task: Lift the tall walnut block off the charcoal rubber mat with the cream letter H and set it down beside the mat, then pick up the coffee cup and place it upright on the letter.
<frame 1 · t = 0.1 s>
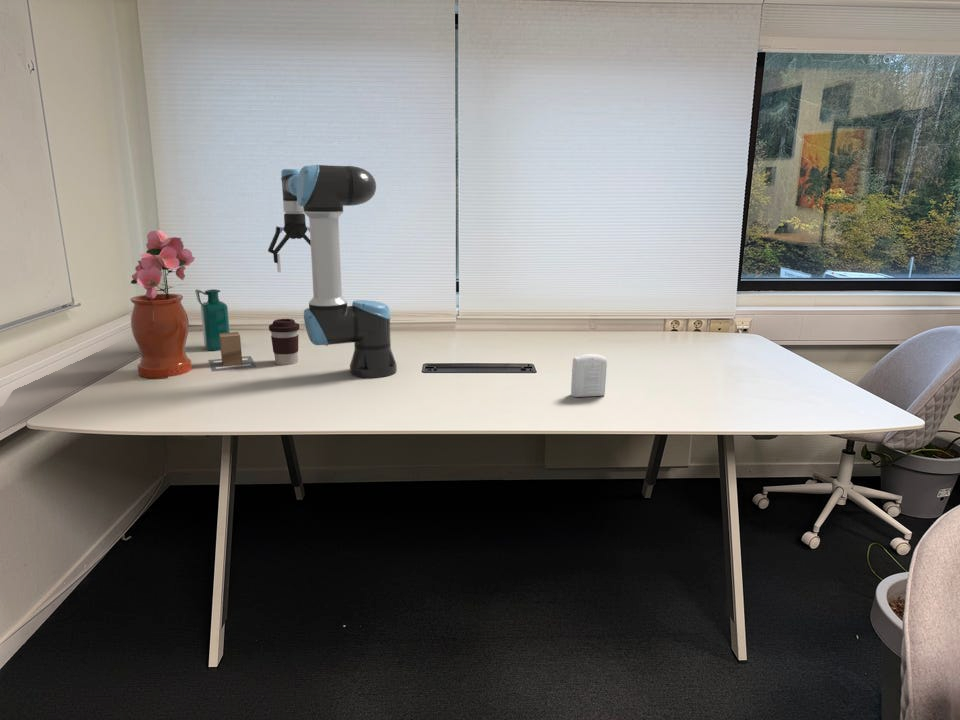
hand: (297, 271, 248), 28 cm above the table, tool pointing down, fingers open, 13 cm apart
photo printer: (587, 395, 195), on the table
walnut block: (232, 363, 225), resting on letter mat
pitcher: (216, 348, 247), on the table
letter mat: (232, 364, 225), on the table
coffee cup: (286, 364, 227), on the table
potted flower: (170, 371, 216), on the table
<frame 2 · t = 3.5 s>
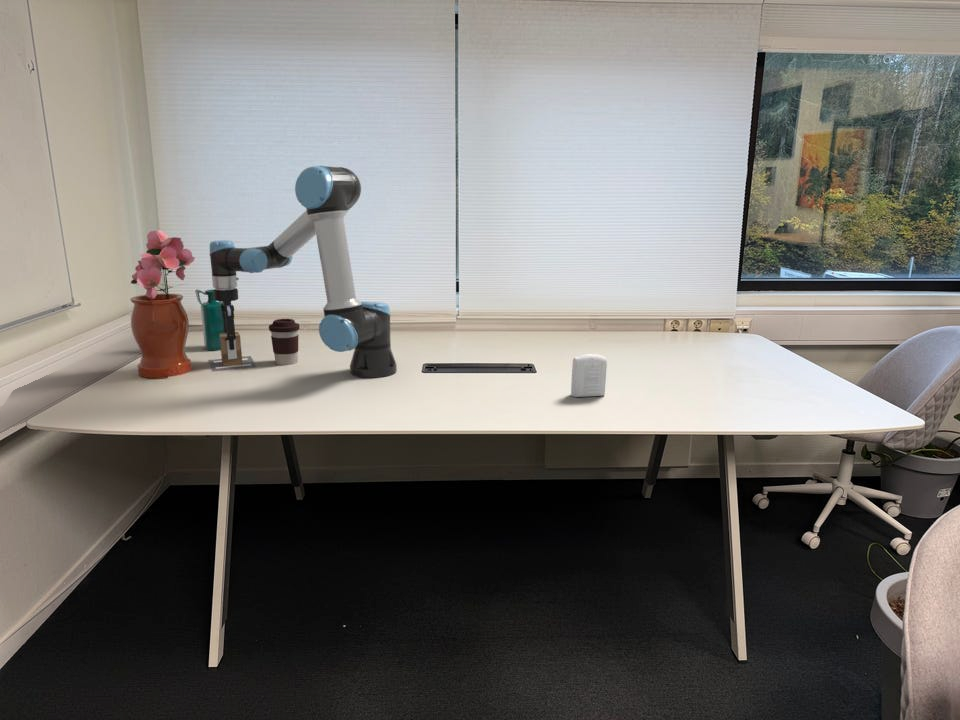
hand: (231, 356, 224), 3 cm above the table, tool pointing down, fingers closed on walnut block, 6 cm apart
walnut block: (232, 363, 225), resting on letter mat, touching gripper
everything else where it was.
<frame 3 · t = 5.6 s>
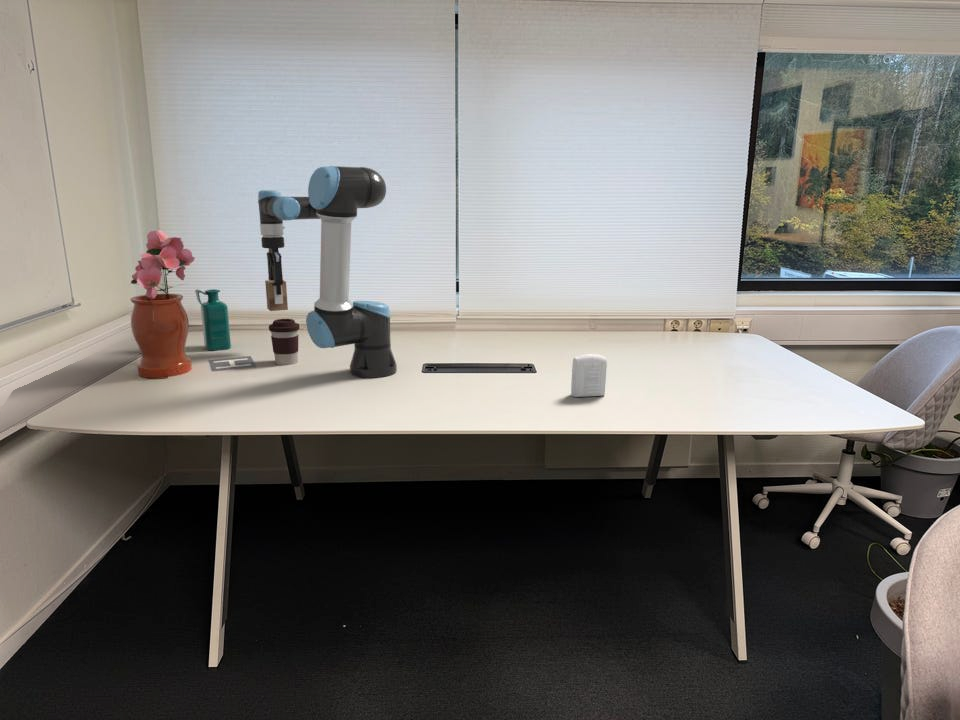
hand: (277, 302, 236), 19 cm above the table, tool pointing down, fingers closed on walnut block, 6 cm apart
walnut block: (277, 309, 236), point 16 cm above the table, touching gripper
everything else where it was.
when the fingers open (4 cm above the table, at t = 7.8 s): walnut block drops 1 cm, on the table.
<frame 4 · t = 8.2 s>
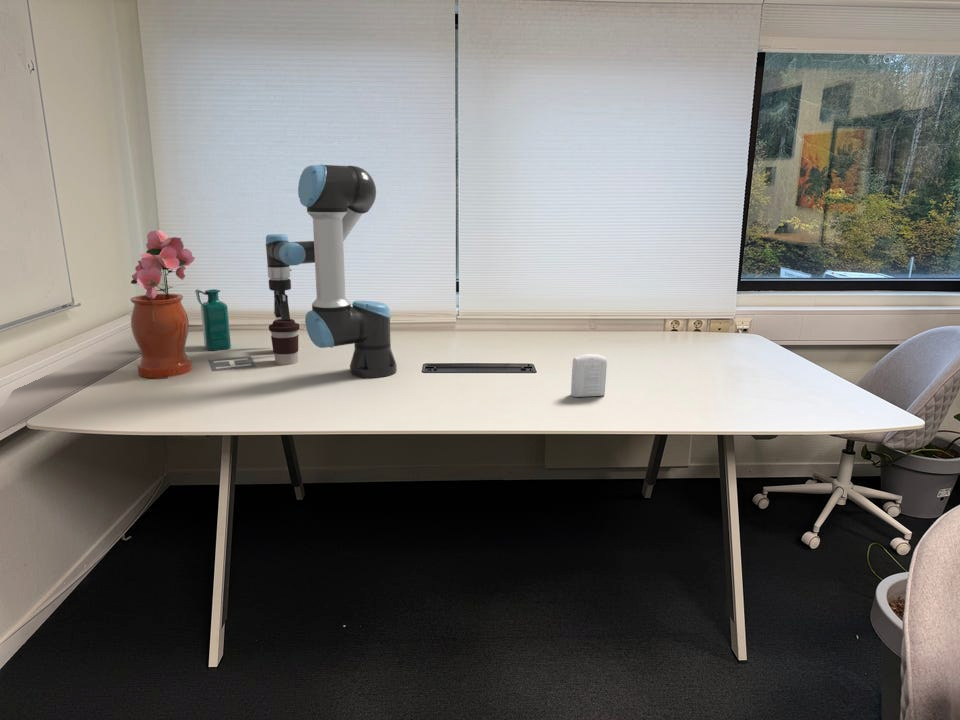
hand: (283, 338, 240), 5 cm above the table, tool pointing down, fingers open, 12 cm apart
walnut block: (284, 352, 242), on the table
everything else where it was.
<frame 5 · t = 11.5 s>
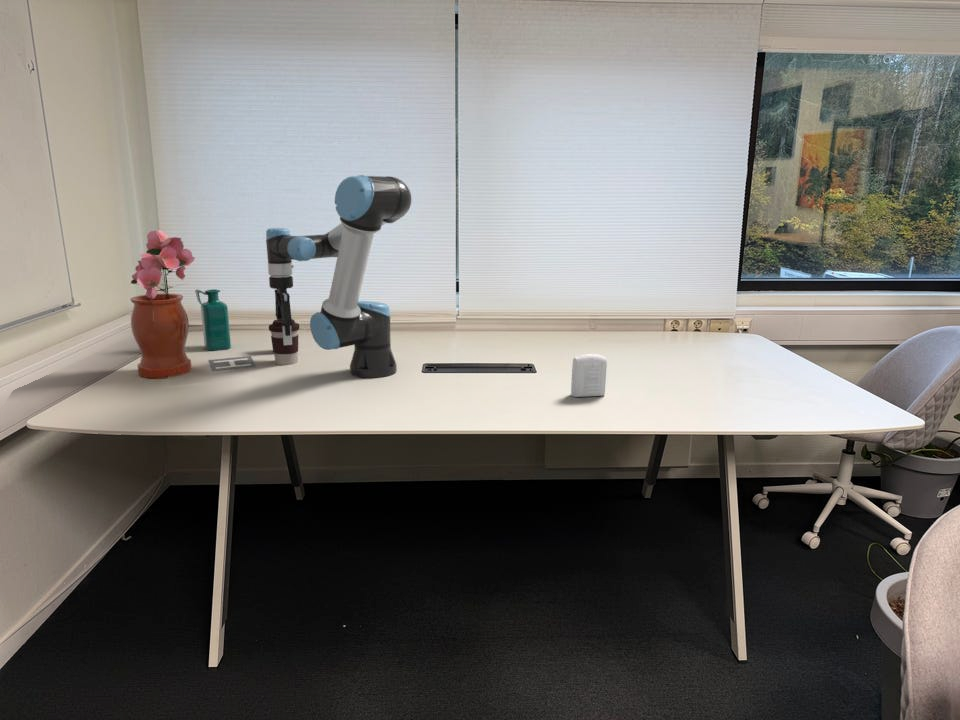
hand: (285, 341, 225), 8 cm above the table, tool pointing down, fingers closed on coffee cup, 10 cm apart
coffee cup: (286, 364, 227), on the table, touching gripper
everything else where it was.
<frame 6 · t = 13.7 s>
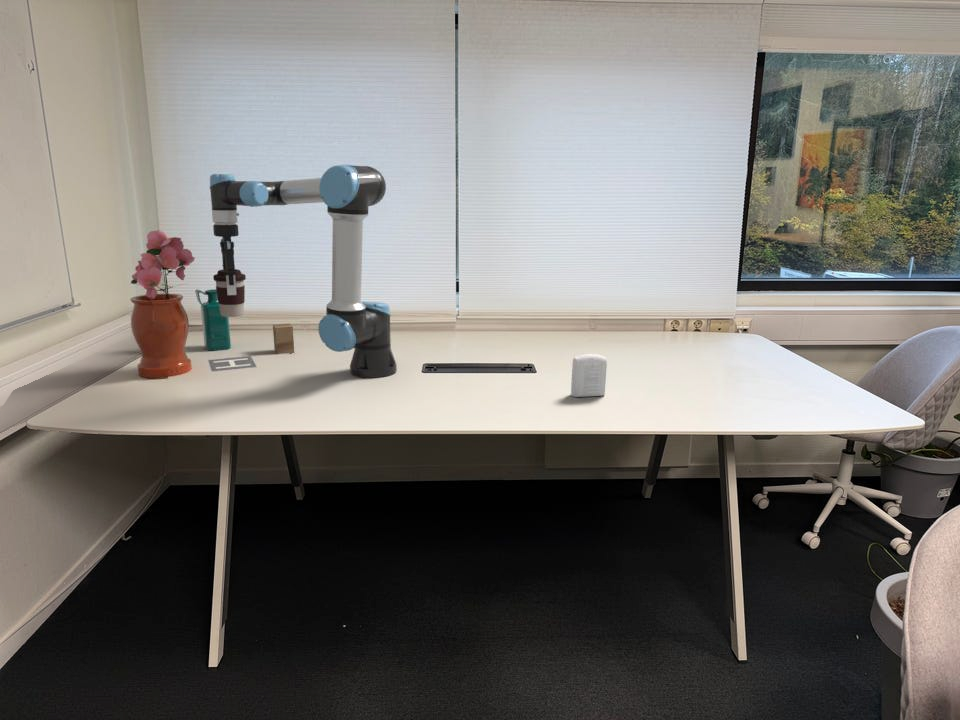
hand: (230, 292, 219), 25 cm above the table, tool pointing down, fingers closed on coffee cup, 10 cm apart
coffee cup: (232, 315, 221), point 17 cm above the table, touching gripper
everything else where it was.
when the fingers open (10 cm above the table, at t = 16.0 s): coffee cup drops 2 cm, resting on letter mat.
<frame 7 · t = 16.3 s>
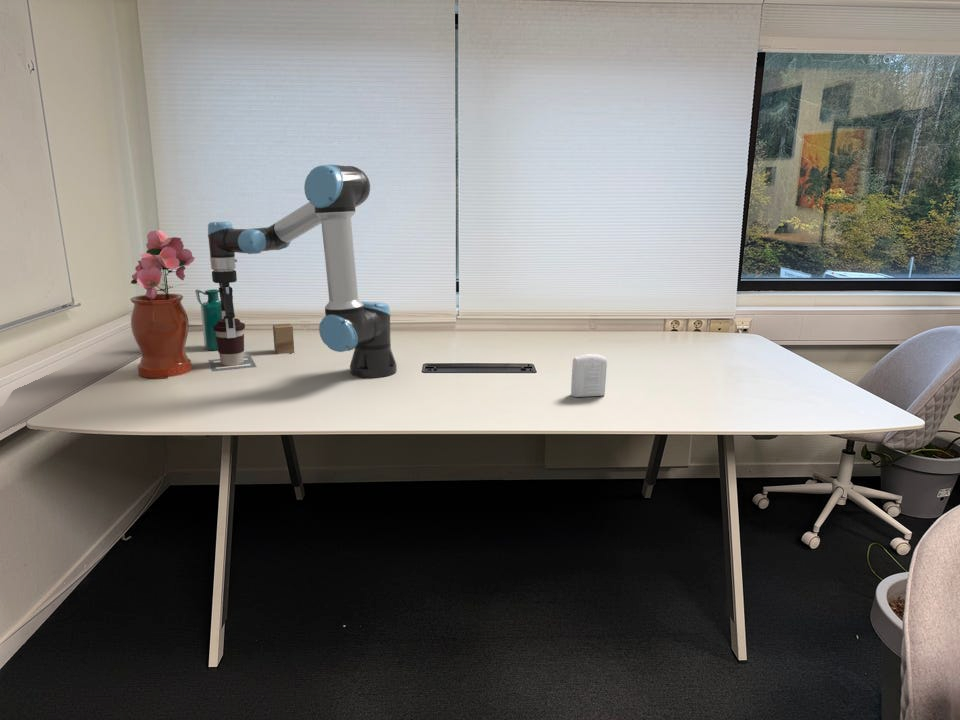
hand: (229, 333, 222), 11 cm above the table, tool pointing down, fingers open, 13 cm apart
coffee cup: (232, 364, 225), resting on letter mat
everything else where it was.
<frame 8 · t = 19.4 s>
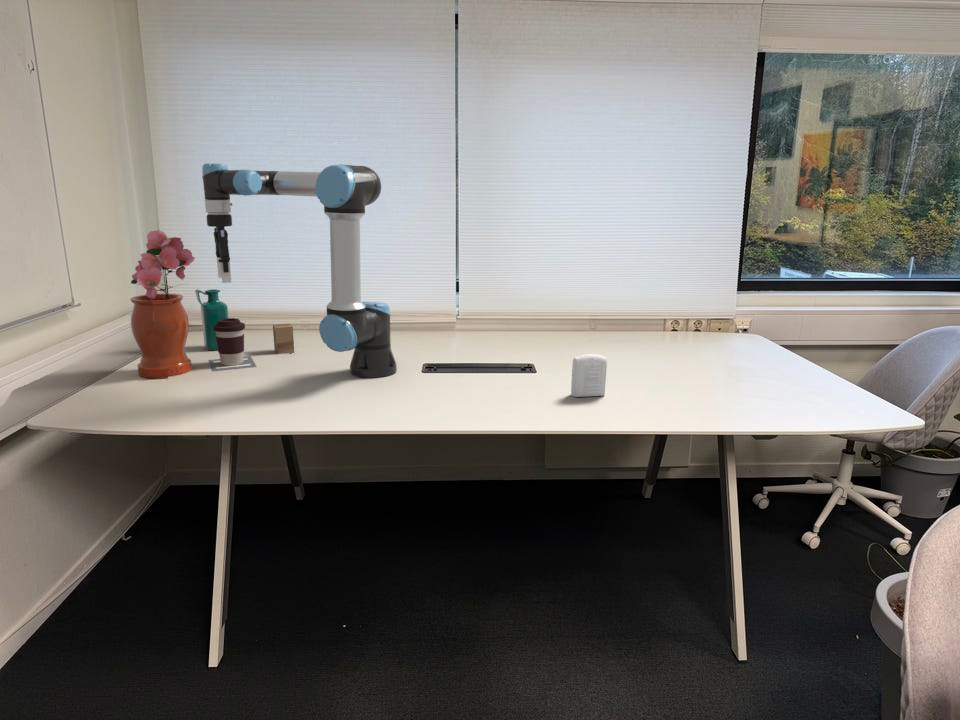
hand: (224, 280, 218), 29 cm above the table, tool pointing down, fingers open, 13 cm apart
nothing on the table moved.
at the end: coffee cup inside the target area on the letter mat (0.3 cm from its centre), point 0.2 cm above the letter mat's base; coffee cup tilted 0°; walnut block inside the target area (0.0 cm from its centre), on the table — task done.
